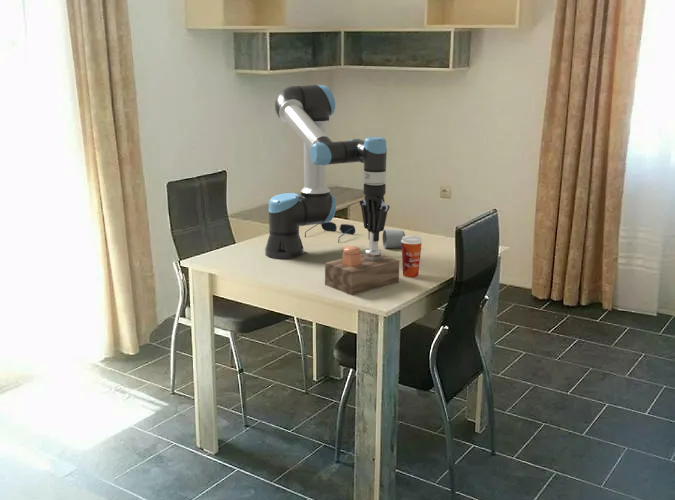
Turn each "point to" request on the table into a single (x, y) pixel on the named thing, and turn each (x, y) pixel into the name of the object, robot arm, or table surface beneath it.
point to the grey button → (373, 255)
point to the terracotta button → (351, 256)
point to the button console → (361, 275)
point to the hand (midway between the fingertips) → (373, 249)
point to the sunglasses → (332, 227)
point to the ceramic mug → (392, 238)
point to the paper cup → (411, 255)
